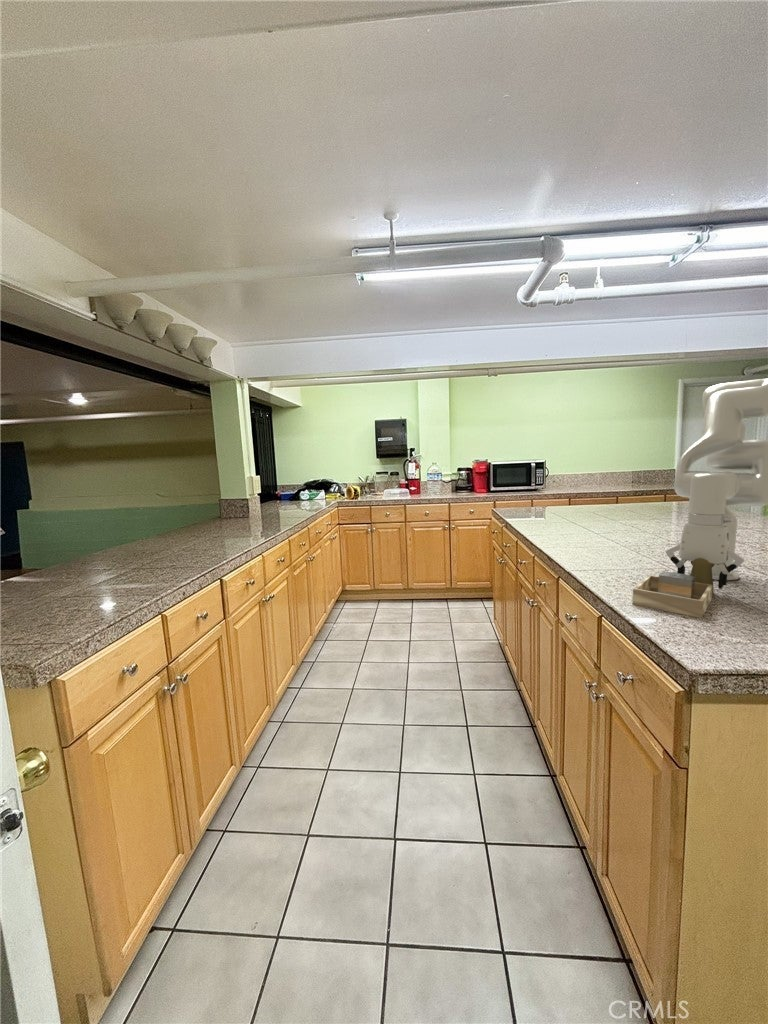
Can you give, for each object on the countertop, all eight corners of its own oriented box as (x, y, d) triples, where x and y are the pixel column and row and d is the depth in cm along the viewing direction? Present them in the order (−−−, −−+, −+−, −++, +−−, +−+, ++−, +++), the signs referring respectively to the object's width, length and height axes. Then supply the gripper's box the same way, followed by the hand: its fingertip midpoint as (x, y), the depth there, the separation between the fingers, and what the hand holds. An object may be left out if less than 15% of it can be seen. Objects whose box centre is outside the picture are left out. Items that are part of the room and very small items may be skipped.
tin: (661, 592, 112) (663, 570, 111) (693, 598, 107) (695, 575, 106) (657, 597, 108) (658, 575, 107) (690, 603, 103) (692, 580, 102)
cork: (719, 598, 107) (722, 557, 106) (693, 597, 109) (696, 557, 107) (706, 591, 113) (709, 552, 112) (681, 590, 114) (684, 552, 113)
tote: (648, 590, 115) (649, 575, 114) (711, 601, 105) (712, 584, 105) (632, 606, 104) (633, 588, 103) (701, 620, 94) (702, 601, 93)
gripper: (750, 521, 105) (744, 587, 107) (669, 515, 117) (665, 575, 119) (748, 525, 99) (742, 594, 102) (663, 519, 112) (659, 581, 114)
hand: (700, 583), depth 110 cm, fingers open, 7 cm apart
